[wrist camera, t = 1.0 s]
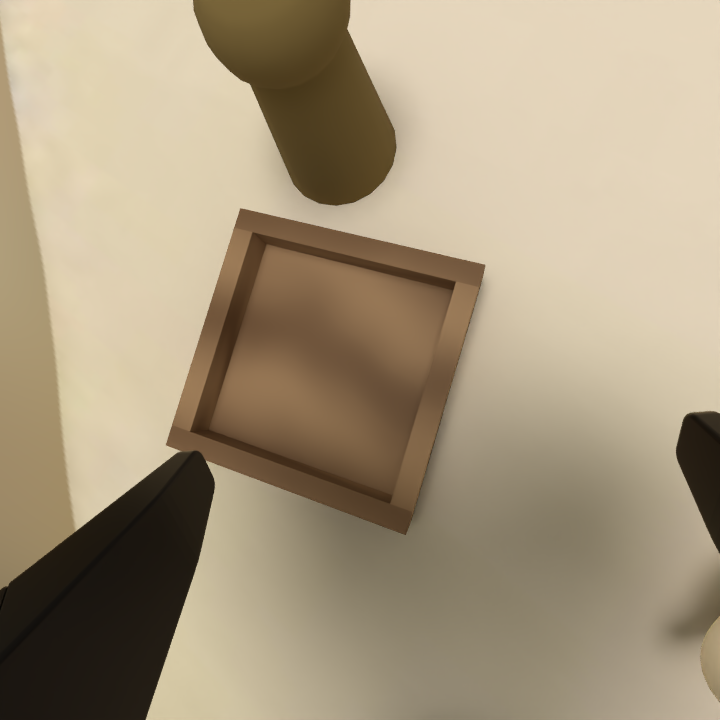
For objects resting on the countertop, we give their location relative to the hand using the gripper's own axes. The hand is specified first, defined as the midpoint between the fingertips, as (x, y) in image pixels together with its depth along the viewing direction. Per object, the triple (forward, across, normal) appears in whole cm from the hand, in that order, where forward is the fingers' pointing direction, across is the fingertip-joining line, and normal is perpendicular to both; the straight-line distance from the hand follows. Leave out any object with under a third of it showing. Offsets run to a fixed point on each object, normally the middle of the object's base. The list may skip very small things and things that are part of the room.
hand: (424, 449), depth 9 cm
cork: (+20, +4, -3) cm, 21 cm away
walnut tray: (+13, +5, +6) cm, 15 cm away
